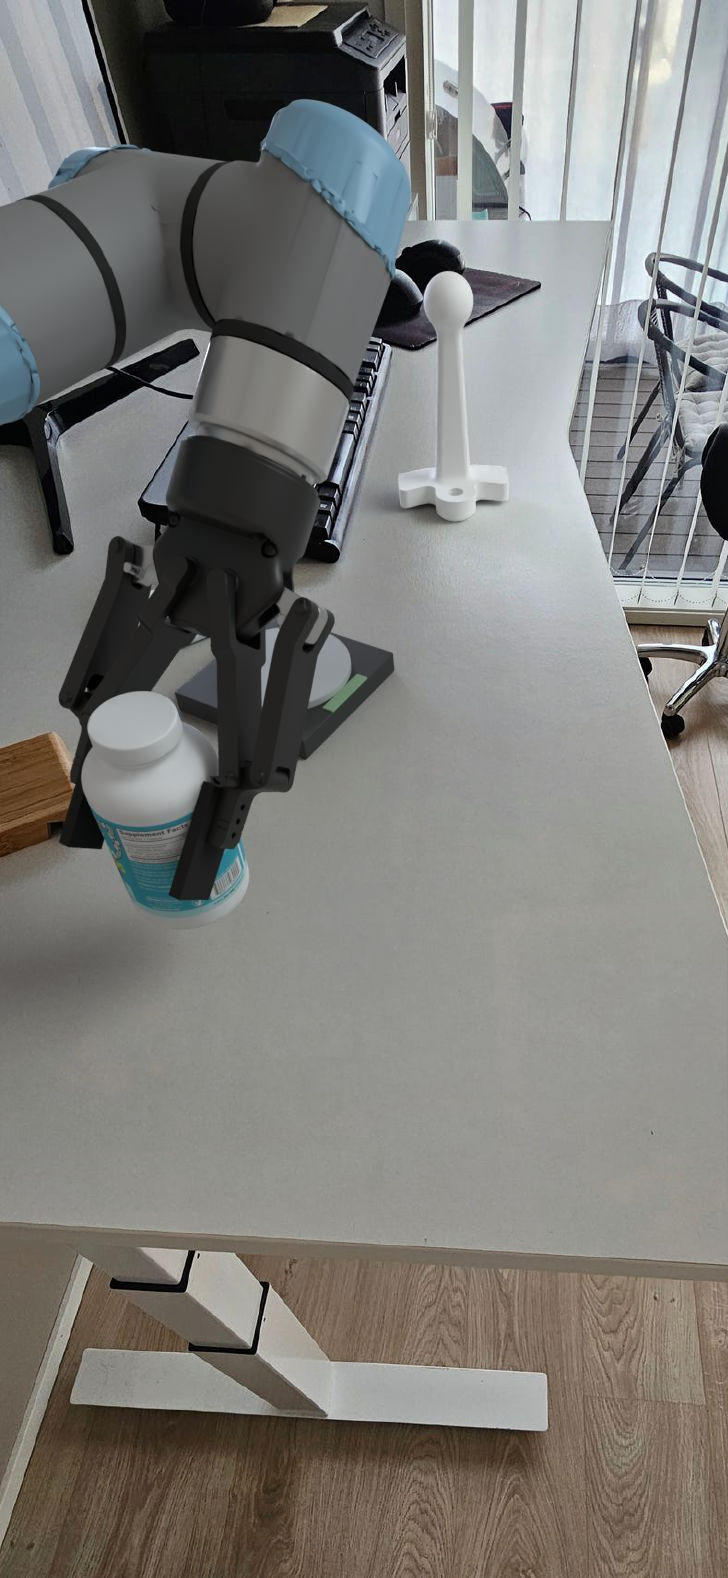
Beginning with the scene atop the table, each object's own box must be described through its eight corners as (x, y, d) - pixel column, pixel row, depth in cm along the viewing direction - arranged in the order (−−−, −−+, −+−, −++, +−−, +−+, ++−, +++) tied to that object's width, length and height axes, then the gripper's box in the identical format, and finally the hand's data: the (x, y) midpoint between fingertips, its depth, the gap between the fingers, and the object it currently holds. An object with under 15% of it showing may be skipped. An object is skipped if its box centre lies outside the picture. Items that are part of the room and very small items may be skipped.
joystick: (504, 483, 103) (507, 259, 88) (512, 519, 99) (518, 291, 83) (398, 490, 103) (383, 268, 88) (402, 527, 99) (386, 299, 83)
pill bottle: (144, 849, 64) (76, 675, 53) (257, 845, 64) (212, 670, 53) (123, 938, 60) (44, 768, 49) (245, 934, 59) (193, 763, 49)
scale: (179, 710, 82) (171, 685, 80) (272, 629, 89) (268, 604, 87) (306, 759, 78) (302, 734, 76) (395, 670, 84) (392, 645, 82)
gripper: (449, 534, 52) (312, 937, 56) (153, 449, 58) (52, 815, 63) (388, 478, 45) (237, 942, 49) (60, 389, 51) (-47, 805, 56)
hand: (133, 870), depth 56 cm, fingers closed on pill bottle, 7 cm apart
